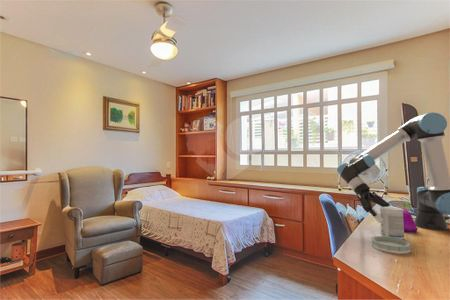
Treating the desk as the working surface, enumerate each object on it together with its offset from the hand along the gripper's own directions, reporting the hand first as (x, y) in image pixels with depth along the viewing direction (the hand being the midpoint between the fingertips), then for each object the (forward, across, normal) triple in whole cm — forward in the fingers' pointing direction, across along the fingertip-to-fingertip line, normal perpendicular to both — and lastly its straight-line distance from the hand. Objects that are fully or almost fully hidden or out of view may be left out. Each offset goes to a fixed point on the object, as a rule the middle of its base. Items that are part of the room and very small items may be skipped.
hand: (388, 219), depth 124 cm
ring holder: (+12, +16, 0) cm, 20 cm away
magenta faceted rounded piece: (+4, -22, -8) cm, 24 cm away
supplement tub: (+7, -1, -6) cm, 9 cm away
